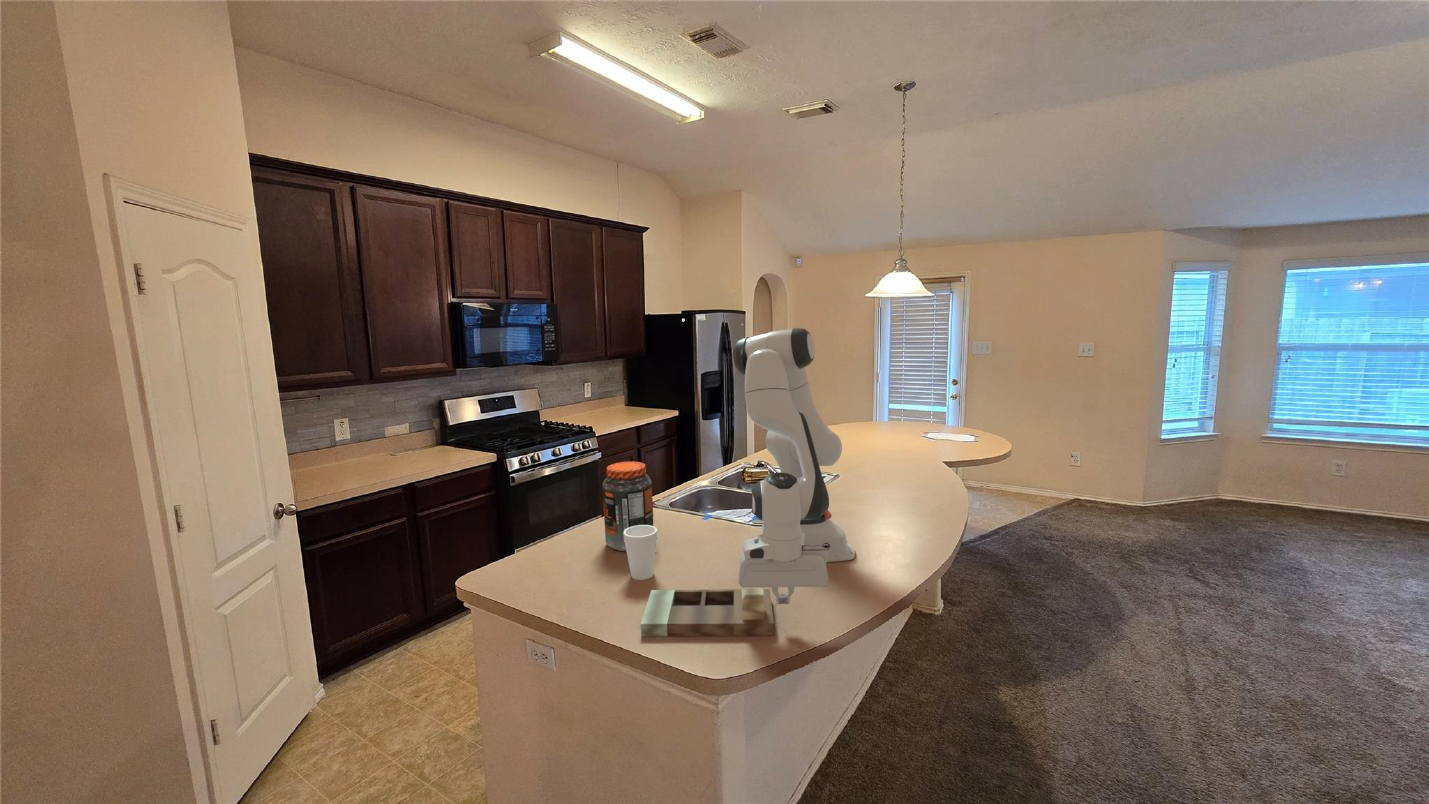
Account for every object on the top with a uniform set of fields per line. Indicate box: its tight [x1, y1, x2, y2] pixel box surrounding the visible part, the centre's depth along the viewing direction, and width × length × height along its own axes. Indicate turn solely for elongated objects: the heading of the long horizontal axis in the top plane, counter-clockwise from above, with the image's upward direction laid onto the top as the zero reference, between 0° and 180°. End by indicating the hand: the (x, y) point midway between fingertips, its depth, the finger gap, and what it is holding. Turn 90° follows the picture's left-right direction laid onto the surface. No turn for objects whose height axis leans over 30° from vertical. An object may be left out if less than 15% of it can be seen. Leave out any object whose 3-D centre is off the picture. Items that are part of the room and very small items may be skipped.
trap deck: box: [640, 588, 775, 637], centre depth 130 cm, size 30×16×3 cm, turn 88°
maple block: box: [741, 587, 765, 620], centre depth 126 cm, size 5×5×5 cm
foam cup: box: [624, 525, 658, 581], centre depth 153 cm, size 10×9×13 cm
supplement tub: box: [601, 461, 654, 552], centre depth 176 cm, size 16×16×26 cm
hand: (783, 603), depth 125 cm, fingers closed
